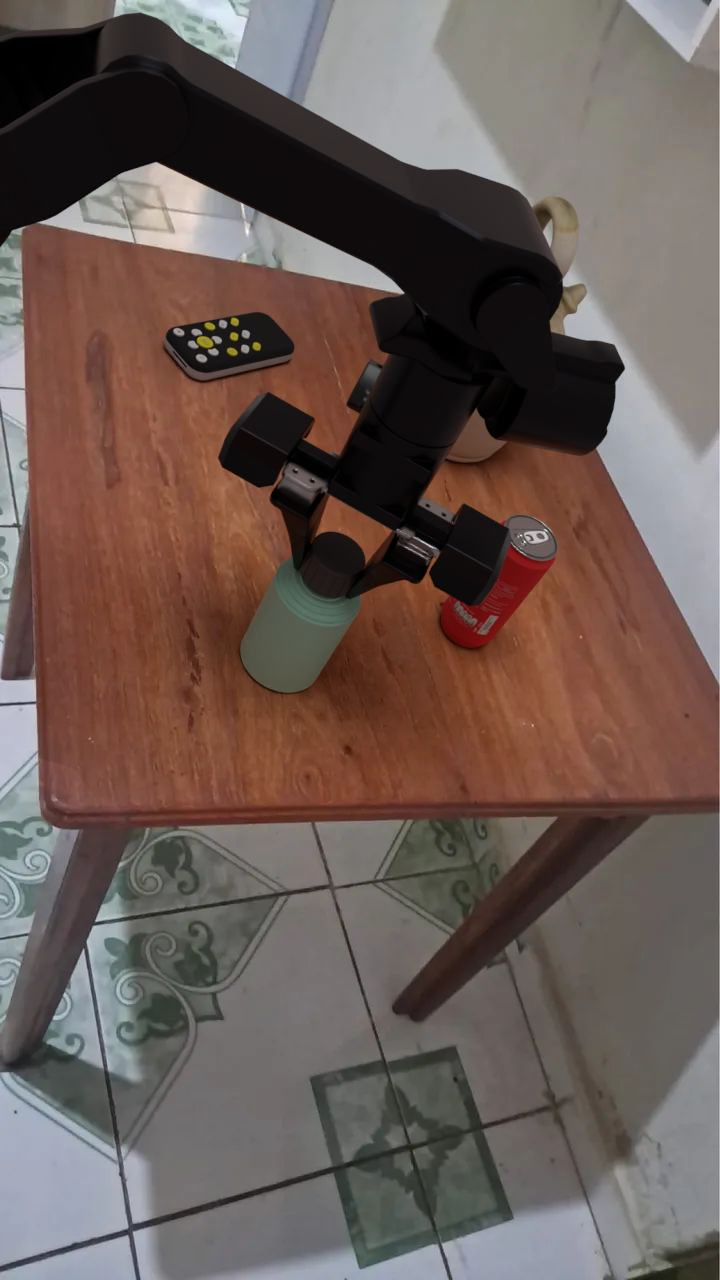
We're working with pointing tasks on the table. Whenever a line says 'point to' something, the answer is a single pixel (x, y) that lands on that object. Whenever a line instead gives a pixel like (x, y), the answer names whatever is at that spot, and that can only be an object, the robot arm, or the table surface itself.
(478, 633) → the beverage can
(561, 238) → the jug
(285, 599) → the bottle
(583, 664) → the table surface
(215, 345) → the remote control
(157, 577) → the table surface
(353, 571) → the cap
